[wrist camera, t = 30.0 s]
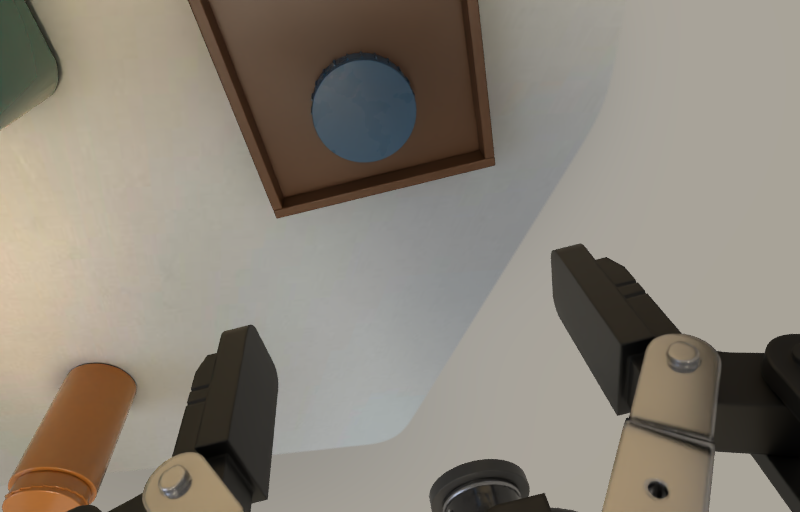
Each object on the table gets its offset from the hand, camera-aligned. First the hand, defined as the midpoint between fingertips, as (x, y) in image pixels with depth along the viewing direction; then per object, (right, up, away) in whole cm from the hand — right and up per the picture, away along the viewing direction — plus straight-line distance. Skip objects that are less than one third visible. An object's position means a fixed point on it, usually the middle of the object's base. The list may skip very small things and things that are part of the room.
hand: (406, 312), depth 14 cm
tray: (-3, +12, +16) cm, 20 cm away
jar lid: (-2, +10, +16) cm, 19 cm away
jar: (-24, -9, +27) cm, 38 cm away
